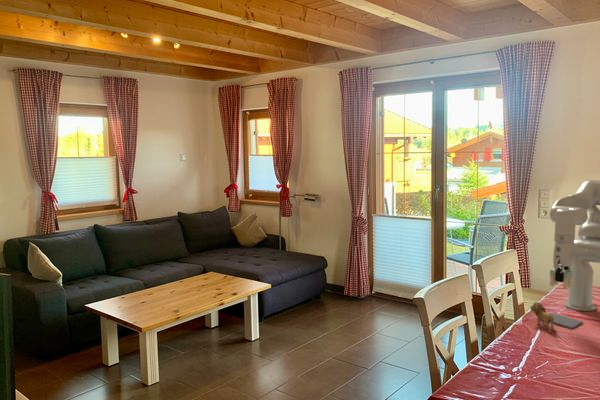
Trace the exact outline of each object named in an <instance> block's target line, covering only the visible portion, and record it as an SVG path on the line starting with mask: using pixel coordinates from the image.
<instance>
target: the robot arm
mask: <svg viewBox="0 0 600 400" xmlns="http://www.w3.org/2000/svg"><path fill="white" fill-rule="evenodd" d="M598 206H600V180H598V179H596V180H595V179H588V180H585V181H584V182H582V183H581V185H580V186H579V188H578V189H577V190H576V191H575V193H573V194H570V195H567V196H564V197H563V196H562V197H561V198H559V199H557V200H556V201H555V202H554V203H553V205H552V207H551V208H550V211H549V219H550V221H552V222H553V223H554V239H553V240H554V247H553V257H552V258H553V259H552V263H553V265H552V266H553V269H554V268H555V281H557V282H558V283H563V279H564V273H563V269H565V270H570V271H573V274H572V279H571V287H570V288H569V287H568V293H567V300H565V301H563V302H564V303H563V305H564V306H565V307H566V308H568V309H571V310H574V311H582V312H591V311H594V310H596V305H595V304H594V303H593V300H594V298H595V297H594V296H593V286H594V285H593V284H594V269H593V267H592V265H591V264H590V263H595V264H600V208H599V207H598ZM576 226H579V229H578V232H577V236H578V238H579V239H576Z"/></svg>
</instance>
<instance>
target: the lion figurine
mask: <svg viewBox="0 0 600 400" xmlns="http://www.w3.org/2000/svg"><path fill="white" fill-rule="evenodd" d="M529 309H530V310H531V312H533V313H534V314H535V317H536V318H537V323H536V326H540V325H541V324H542V325H545V326H546V327H547V330H546V332H547V333H551V330H553V332H554V333H556V334H557V333H558V331H557V330H555V328H554V324H553V321H554V319H553V316H552V315H551V314H548V313H549V312H547V311H546V309H545V307H544V305H542V304H541V303H540V302H537V301H535V302H533V304H532V305H531V306H530V307H529ZM540 319H542V320H540ZM549 321H550V323H549Z"/></svg>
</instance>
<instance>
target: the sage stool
mask: <svg viewBox="0 0 600 400" xmlns="http://www.w3.org/2000/svg"><path fill="white" fill-rule="evenodd" d="M563 273H564V279H563V282H562V288H563V290H568V289H569V288H570V287H571V279H572V274H573V271H570V270H565V269H563ZM549 277H550V279H549V286H550V287H555V285H556V286H558V285H559V282H557V281H555V268H554V267H553V268H552V269H549Z"/></svg>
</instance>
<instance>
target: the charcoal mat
mask: <svg viewBox="0 0 600 400" xmlns="http://www.w3.org/2000/svg"><path fill="white" fill-rule="evenodd" d="M547 313H548V314H551V315H552V316H553V319H554V321H553V325H557V326H559V327H563V328H567V329H570V330H573V329H575V328H577V327H579V326H580V325H582V324H583V323H584V321H583V320H579V319H575V318H571V317H569V316H563V315H560V314H557V313H553V312H547ZM540 321H542V319H540ZM549 324H551V323H550V321H549Z"/></svg>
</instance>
